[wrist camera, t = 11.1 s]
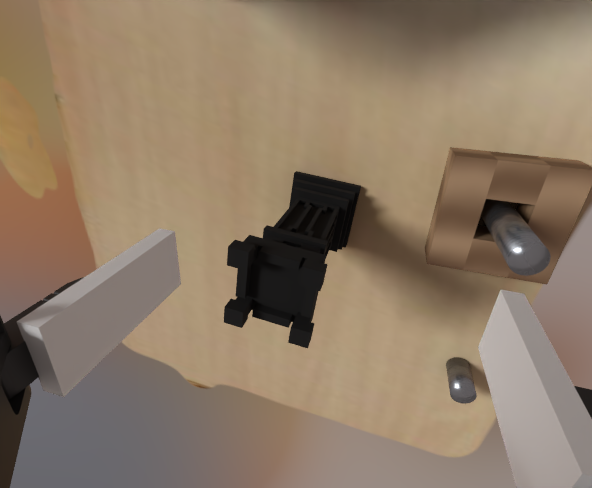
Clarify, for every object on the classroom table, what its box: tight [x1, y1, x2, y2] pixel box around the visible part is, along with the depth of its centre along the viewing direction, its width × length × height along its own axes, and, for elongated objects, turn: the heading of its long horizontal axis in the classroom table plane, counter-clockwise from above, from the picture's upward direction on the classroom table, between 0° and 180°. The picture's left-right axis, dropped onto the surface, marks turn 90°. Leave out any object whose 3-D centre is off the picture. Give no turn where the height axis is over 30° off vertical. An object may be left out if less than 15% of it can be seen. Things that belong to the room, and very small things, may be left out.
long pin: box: [481, 199, 551, 276], centre depth 33 cm, size 3×3×12 cm
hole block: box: [425, 148, 592, 284], centre depth 37 cm, size 12×12×4 cm
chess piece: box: [224, 171, 361, 348], centre depth 35 cm, size 8×8×20 cm
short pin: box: [446, 357, 476, 403], centre depth 46 cm, size 3×3×5 cm
